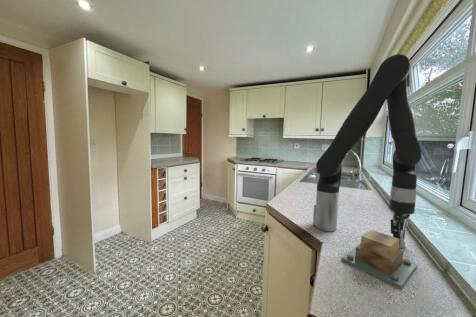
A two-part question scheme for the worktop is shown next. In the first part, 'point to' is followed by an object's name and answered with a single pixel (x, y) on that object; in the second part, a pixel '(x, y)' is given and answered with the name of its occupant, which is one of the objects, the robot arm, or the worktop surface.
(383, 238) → the stepped wooden plinth
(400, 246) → the rook chess piece
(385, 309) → the worktop surface
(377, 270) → the baseplate
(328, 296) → the worktop surface
